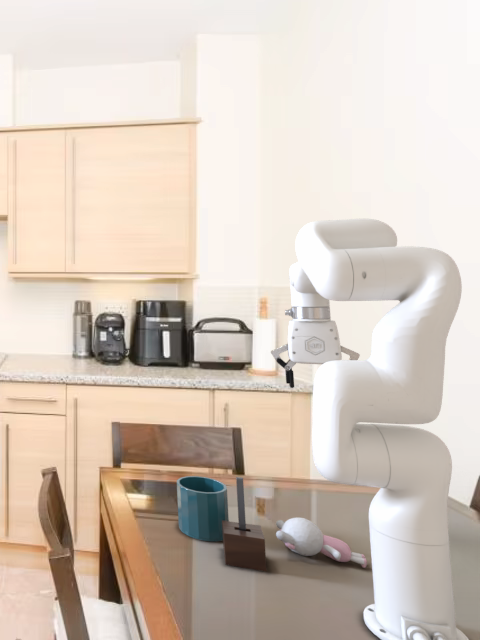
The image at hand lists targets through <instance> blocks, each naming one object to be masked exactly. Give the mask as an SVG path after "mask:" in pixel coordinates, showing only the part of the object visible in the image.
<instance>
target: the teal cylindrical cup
mask: <svg viewBox="0 0 480 640" xmlns="http://www.w3.org/2000/svg"><path fill="white" fill-rule="evenodd" d="M176 495H177V517H178V518H177V519H178V520H177V521H178V528H179V530H180V531H181V533H183V534H184V535H186V536H188V537H190V538H192V539H196V540H199V541H203V542H221V541H222V542H223V531H222V520H223V521H229V520H230V519H229V502H228V487H227V485H226V484H224V483H223V481H220V480H217V479H215V478H211V477H207V476H199V475H187V476H182V477H179V478H178V479H177V480H176Z"/></svg>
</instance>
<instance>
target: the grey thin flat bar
mask: <svg viewBox="0 0 480 640" xmlns="http://www.w3.org/2000/svg"><path fill="white" fill-rule="evenodd" d="M235 482H236V500H237V519H238V523H239V530H241V531H246V524H247V523H246V506H245V503H246V502H245V487H244V486H245V485H244V478H243V477H239V476H236V477H235Z"/></svg>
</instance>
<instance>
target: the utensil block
mask: <svg viewBox="0 0 480 640" xmlns="http://www.w3.org/2000/svg"><path fill="white" fill-rule="evenodd" d="M222 531H223V540H222V547H223V557H224V564H225V565H227V566H231V567H237V568H243V569H247V570H248V569H249V570H253V571H260V572H267V570H268V569H267V556H266V554H267V553H266V541H265V535H264V533H263V529H262V526H261V525H259V524H258V525H257V524H250V523H246V531H241V530H239V522H238V521H237V522H236V521H223V520H222Z"/></svg>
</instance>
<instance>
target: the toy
mask: <svg viewBox="0 0 480 640" xmlns="http://www.w3.org/2000/svg"><path fill="white" fill-rule="evenodd" d="M275 525H276V527H277V529H278V530H276V533H275V536H276V539H278V540H280V541H281V542H282V543H284V545H285V547H286V548H288V549H289V550H290V551H292V552H293V553H295V554H297V555H299V556H304V557H310V556H311V557H312V556H315V555H317V554H318V553H321V554H323V555H325V556H326V557H328V558H330V559H332V560H333V561H336V562H338V563H348V562H349V561H351V562H354V563H356V564H359V565H360V566H361V567H362V568H363V569H366V568H367V565H368V560H367V558H366V556H365V554H363V553H359V552H354V551H352V549H351V547H350V545H348V544H347V542H345V541H343V540H342V539H339V538H336V537H334V536H331V535H326V534H323V531H322V530H321V528H320V527H319V526H318V525H317V524H316V523H314V522H313V521H312V520H309V519H307V518H304V517H292V518H289V519H287V520H286V521H284V520H282V519H278V520H277V521H276V523H275Z"/></svg>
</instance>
